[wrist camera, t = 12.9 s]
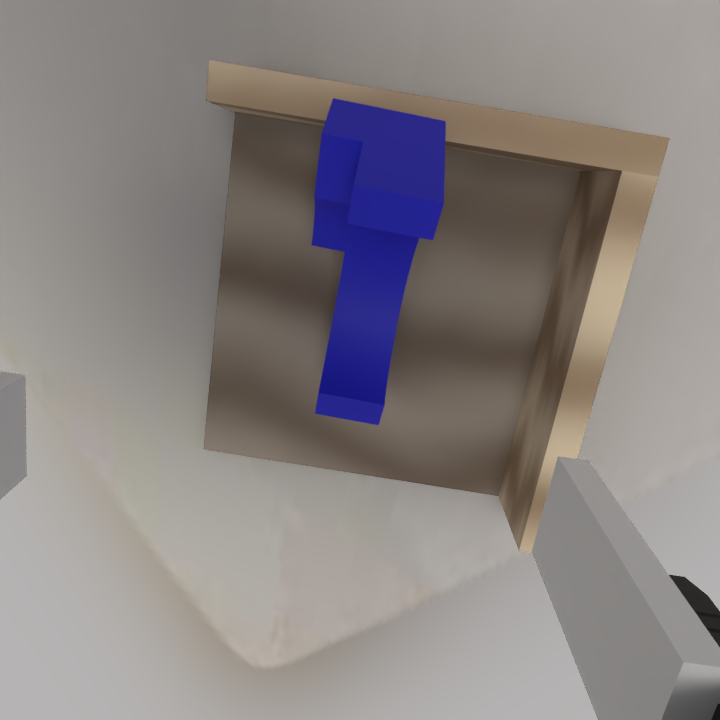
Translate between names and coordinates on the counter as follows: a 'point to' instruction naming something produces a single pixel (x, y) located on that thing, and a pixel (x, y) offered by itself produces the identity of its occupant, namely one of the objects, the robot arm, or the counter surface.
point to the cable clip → (372, 240)
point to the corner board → (428, 293)
